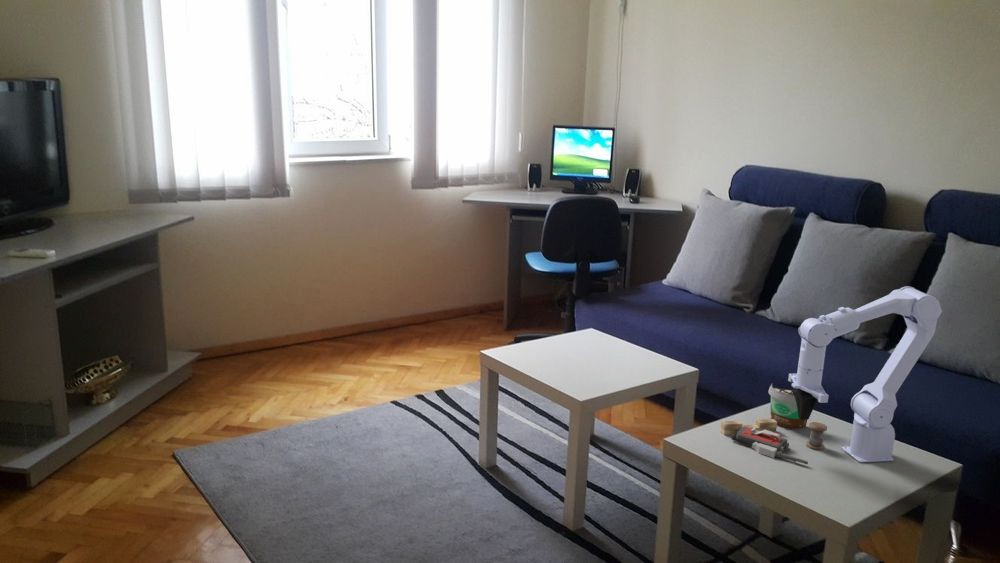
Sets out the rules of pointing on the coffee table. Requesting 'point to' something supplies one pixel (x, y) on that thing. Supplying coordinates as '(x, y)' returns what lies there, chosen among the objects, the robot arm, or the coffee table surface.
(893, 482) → the coffee table surface
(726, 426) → the notched board
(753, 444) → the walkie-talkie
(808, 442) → the bobbin
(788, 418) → the food container
